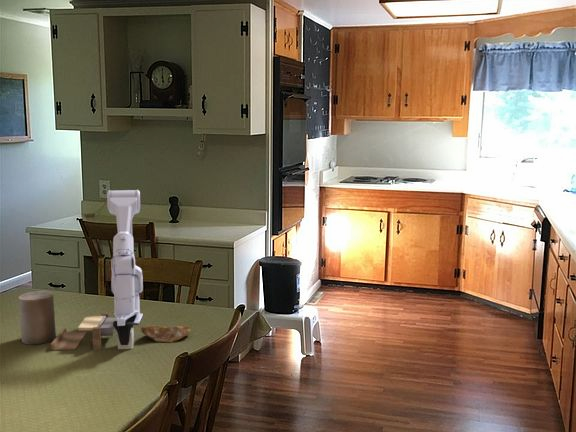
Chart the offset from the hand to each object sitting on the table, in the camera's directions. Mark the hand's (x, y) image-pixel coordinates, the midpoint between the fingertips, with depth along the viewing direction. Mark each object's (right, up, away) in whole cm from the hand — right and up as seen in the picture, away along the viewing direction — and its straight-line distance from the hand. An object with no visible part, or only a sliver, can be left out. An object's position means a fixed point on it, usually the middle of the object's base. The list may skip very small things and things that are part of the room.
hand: (125, 341), depth 184 cm
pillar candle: (-28, -1, +6) cm, 28 cm away
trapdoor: (-9, +3, +4) cm, 10 cm away
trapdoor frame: (-14, -1, +4) cm, 15 cm away
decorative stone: (+10, -1, +8) cm, 13 cm away
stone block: (0, +1, 0) cm, 1 cm away
